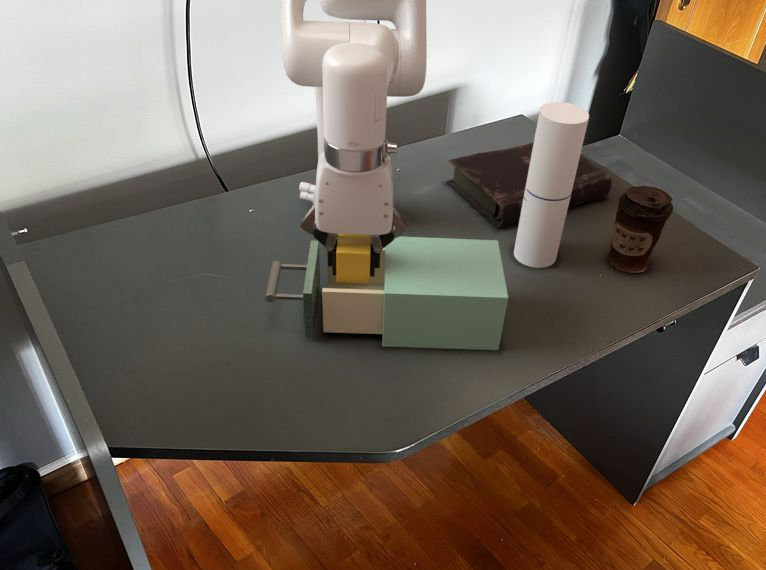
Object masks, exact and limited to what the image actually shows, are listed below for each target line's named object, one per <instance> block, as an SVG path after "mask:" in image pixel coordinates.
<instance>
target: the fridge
mask: <svg viewBox="0 0 766 570" xmlns="http://www.w3.org/2000/svg"><path fill="white" fill-rule="evenodd" d="M508 302H509V294H508V288H507V284H506V277H505V271H504V266H503V260H502V254H501V249H500V245H499V240H497V239H495V240H493V239H471V238H468V239H467V238H450V237H449V238H448V237H446V238H445V237H422V236H419V237H418V236H400V237H398V238H395V239H394V240H393V241H392V242H391V243H390V244H388V245H387V246H386V247H385V284H384V314H383V334H381V335H382V337H381V338H382V339H381V340H382V341H381V342H382V343H381V347H383V348H385V347H386V348H412V349H413V348H414V349H415V348H417V349H418V348H419V349H446V350H447V349H448V350H477V351H478V350H479V351H499V350H500V345H501V340H502V335H503V334H502V333H503V329H504V323H505V317H506V312H507V308H508V307H507V306H508Z"/></svg>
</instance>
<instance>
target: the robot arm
mask: <svg viewBox="0 0 766 570" xmlns="http://www.w3.org/2000/svg"><path fill="white" fill-rule="evenodd" d="M318 1H319V2H318V3H319V5H320V8H321V11H323V12H324V14H325V15H327V16H329V17H332V18H334V19H340V20H349V21H333V20H332V21H329V20H304V9H305V5H306V3H307V0H280V43H281V44H280V45H281V47H280V48H281V49H280V50H281V60H282V66H283V70H284V72H285V75H286V76H287V78H288V79H289V80H290V81H291V82H292V83H294V84H295V85H297V86H300V87H310V88H313V90H314V97H315V110H316V111H315V112H316V128H317V129H316V130H317V160H318V161H317V167H316V178H315V184H313V183H309V182H305V181H301V182H300V183H299V187H298V192H299V199H300V200H302V201H306V202H311V204H312V205H311V207H310V209H309V210H308V211H307V212H306V213H305V215H304V216H303V217H302V218H301V220H300V223H299V227H300V229H301V230H303V231H304V232H306V233H308V234H309V235H312V236H313V238H314V239H315V240H316V241H319V244H321V245H322V246H323V247H324V250H325V251H327V255H326V256H327V257H326V258H327V267H328V266H332V275H336V274H337V260H336V252H337V242H338V233H341V234H365V235H370V238H371V251H370V276H371V277H374V275H375V268H380V253H381V252H382V250H383V248H385V247H386V246H387V245H388V244H390V243H391V242H392V241H393V240H394V239H395V238H398V237H403V235H405V234H406V233H408V229H409V228H408V223H407V221H406V220H405V219H404V218H403V217H402V215H401V214H400V213H399V212H398V210H397V209H396V208H395V206H394V174H393V166H392V161H391V157H390V156H391V155H397V153H398V152H397V151H398V143H393V142H391V141H389V139H388V138H387V139H386V135H387V106H388V103H387V102H388V97H394V98H396V97H398V98H402V97H403V98H404V97H405V98H406V97H413V96H416V95H418V94H419V93H421V91H422V90H423V88H424V86H425V83H426V77H427V66H428V65H427V64H428V63H427V61H428V60H427V58H428V55H427V54H428V52H427V51H428V50H427V48H428V47H427V43H428V41H427V0H318ZM350 20H351V21H350ZM352 20H353V22H352ZM354 20H355V21H378V22H379V21H380V22H381V21H383V22H390V23H391V24H392V25H393V26H394V27H395V28H390V27H388V26H387V25H384V24H381V23H376V22H354Z"/></svg>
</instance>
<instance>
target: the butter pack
mask: <svg viewBox="0 0 766 570" xmlns="http://www.w3.org/2000/svg"><path fill="white" fill-rule="evenodd" d="M337 241H338V242H337V252H336V260H337V282H343V283H370V251H371V243H372V242H371V238H370V235H365V234H341V233H338V235H337Z"/></svg>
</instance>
